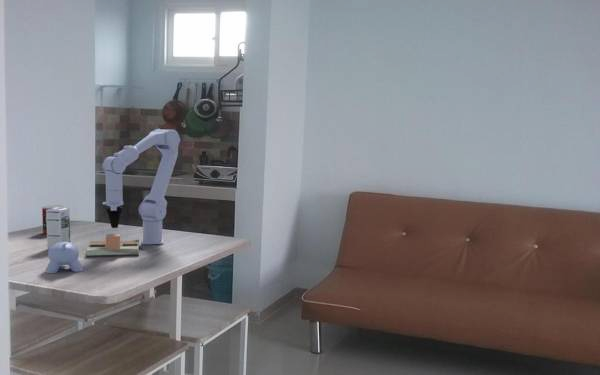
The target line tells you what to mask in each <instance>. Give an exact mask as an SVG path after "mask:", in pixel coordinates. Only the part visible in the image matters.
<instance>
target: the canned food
mask: <svg viewBox="0 0 600 375" xmlns="http://www.w3.org/2000/svg"><path fill="white" fill-rule="evenodd" d="M60 207H62V208H64V205H60V204H59V205H58V204H54V205H53V204H51V205H50V204H49V205H43V206H42V208H41V209H42V210H41V211H42V233H43V234H44V235H47V220H46V210H48V209H53V208H60Z"/></svg>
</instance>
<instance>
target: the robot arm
mask: <svg viewBox="0 0 600 375" xmlns="http://www.w3.org/2000/svg"><path fill="white" fill-rule="evenodd" d="M180 142H181V138H180V135H179V133H178V132H177V131H176V130H175V129H160V128H156V129H154V130H153V131H150V132H149V133H148V134H147V136H145V137H144V138H143V139H141V140H140V141H139V142H137V143H136V144H135V145H125V146H123V149H122V150H119V151H118V152H114V153H113V156H108V157H105V158H104V160H103V161H102V162H103V163H102V164H101V168H102V170H103V171H104V176H105V201H103V202H102V206H103V205H104V206H107V207H106V208H105V211H106V213H107V215H108V217H109V222H110V227H111V229H117V228H119V225H120V224H119V223H120V218H121V214H122V212H123V209H124V208H123V205H124V200H123V199H124V198H123V194H124V192H123V190H124V189H123V173H124V172H125V171H126V168H127V167H128V166H129V165H131V164H132V163H133V162H135V161H137V160H138V159H139V156H140V154H141V153H143V152H144V151H146V150H148V149H149V148H151V147H153V146H156V148H157V149H158V150H159V151H160V153H161V160H160V163H159V165H158V169H157V171H156V174H155V176H154V181H153V182H152V183H153V184H152V186H151V190H150V193H149V194H147V195H146V196H144V198H143V201H142V202H141V203H140V205H139V206H138V214H139V215H140V217H141V219H142V238H141V245H163V244H164V239H163V220H164V218H165V217H166V215H167V206H168V201H167V200H166V198H165V195H166V192H167V190H168V187H169V183H170V180H171V178H172V175H173V171H174V168H175V165H176V162H177V159H178V156H179V145H180Z"/></svg>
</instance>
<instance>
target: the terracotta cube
mask: <svg viewBox="0 0 600 375" xmlns="http://www.w3.org/2000/svg"><path fill="white" fill-rule="evenodd" d="M120 240H121V233H106V235H105V241H106V250H110V249H120Z"/></svg>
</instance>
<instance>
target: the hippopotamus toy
mask: <svg viewBox="0 0 600 375" xmlns="http://www.w3.org/2000/svg"><path fill="white" fill-rule="evenodd" d="M79 254H80V251H79V249H78V247H77V246H76V245H75V244H74V243H73V242H70V243H69V242H59V243H56V244H54V245H53V246H52V247H51V248H50V249H48V252H47V257H48V259H49V262H48V265H46V268H45V270H46V271H45V274H56V273H58V272H59V269H60V268H61V266H68V267H69V268H70V271H72V272H75V273H79V272H83V271H84V269H83V268H84V267H83V265H82V263H81V262H80V260H79Z"/></svg>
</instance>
